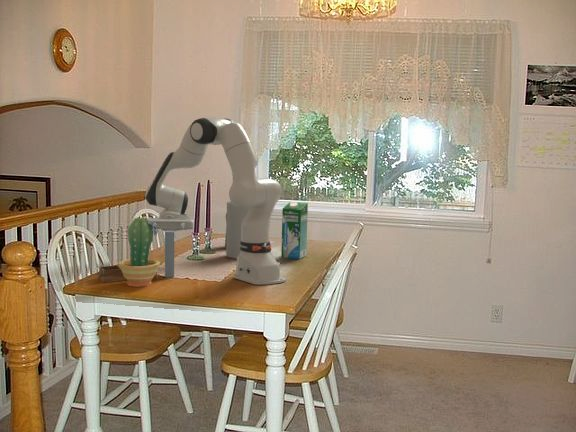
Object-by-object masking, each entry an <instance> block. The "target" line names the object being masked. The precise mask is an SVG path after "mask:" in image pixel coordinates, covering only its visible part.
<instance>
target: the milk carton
mask: <svg viewBox="0 0 576 432" xmlns="http://www.w3.org/2000/svg"><path fill="white" fill-rule="evenodd" d="M308 209H309V204H308V202H298V201H297V202H295V201H289V202H288V203H287V204H286V205H285V206H284V207H283V208H282V213H281V214H282V215H281V216H282V218H281V219H282V220H281V221H282V222H281V250H280V251H281V255H280V256H281V258H283V259H284V258H285V259H295V260H300V259H302V258H305V257H307V249H308V247H307V245H308V242H307V240H308V215H309V214H308V212H309V211H308Z"/></svg>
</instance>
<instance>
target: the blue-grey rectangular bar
mask: <svg viewBox="0 0 576 432" xmlns="http://www.w3.org/2000/svg"><path fill="white" fill-rule="evenodd" d="M164 278H166V279H167V278H175V231H164Z"/></svg>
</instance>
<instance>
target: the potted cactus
mask: <svg viewBox="0 0 576 432" xmlns="http://www.w3.org/2000/svg"><path fill="white" fill-rule="evenodd" d="M158 232H159V229H157V228H156V226H155V224H154V222H152V221H148V220H147V217H146V218H144V217H143V216H142V217H141V218H140V217H135V218H134V219H133V220H132V221H131V223H130V224H129V226H128V227H127V238H128V243H129V245H130V246H129V247H130V259H125V260H121V261H119V262H118V263H117V264H118V266H119V268H120V269H121V270H122V273H123V276H124V277H125V278H126V280H125V281H127V283H126V285H127V286H130V287H138V288H139V287H148V286H150V285H152V284H153V283H152V280H153V279H154V278H155V277H154V276H155V274H156V272H157V271H158V269H159V268H160V266H161V265H160V264H161V262H160V261H159V260H157V259H151V258H149V255H150V249H151V245H152V242H153V240H154V236H155V238H157V236H158V234H159V233H158ZM153 277H154V278H153Z"/></svg>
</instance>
